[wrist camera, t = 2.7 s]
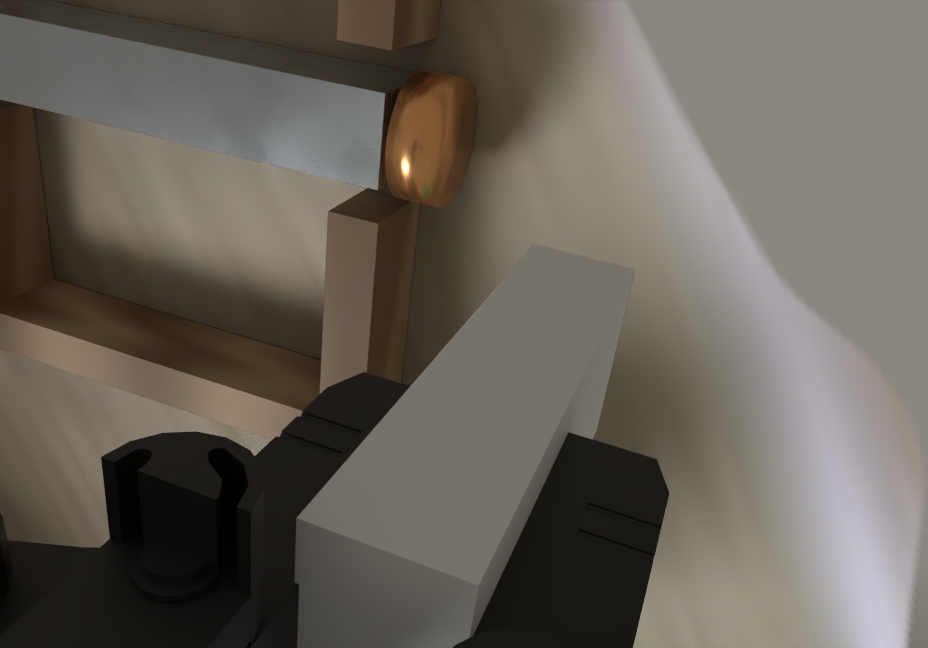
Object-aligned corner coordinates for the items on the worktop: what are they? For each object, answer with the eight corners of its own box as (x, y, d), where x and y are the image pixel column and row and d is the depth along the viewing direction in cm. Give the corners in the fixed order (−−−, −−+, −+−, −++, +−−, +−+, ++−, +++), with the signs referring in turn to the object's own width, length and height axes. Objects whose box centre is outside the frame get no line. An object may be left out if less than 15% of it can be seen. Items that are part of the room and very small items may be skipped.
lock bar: (-10, 78, 28) (-101, 93, 25) (-25, -29, 27) (-125, -25, 24) (467, 189, 24) (423, 224, 21) (483, 69, 22) (437, 89, 19)
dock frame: (27, 304, 32) (-38, 335, 30) (-58, -306, 23) (-163, -336, 21) (397, 421, 28) (359, 469, 26) (466, -260, 19) (418, -289, 17)
